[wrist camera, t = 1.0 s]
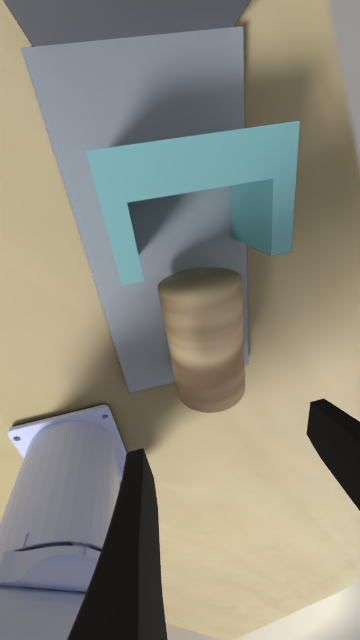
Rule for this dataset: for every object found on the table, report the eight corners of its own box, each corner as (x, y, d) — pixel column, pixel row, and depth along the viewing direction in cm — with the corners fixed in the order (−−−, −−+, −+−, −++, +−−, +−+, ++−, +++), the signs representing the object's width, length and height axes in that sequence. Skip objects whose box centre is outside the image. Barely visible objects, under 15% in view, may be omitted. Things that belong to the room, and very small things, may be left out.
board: (245, 360, 22) (248, 364, 22) (129, 388, 21) (129, 393, 20) (238, 32, 13) (243, 26, 12) (25, 54, 12) (20, 47, 11)
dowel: (229, 358, 21) (257, 401, 17) (171, 373, 20) (185, 421, 16) (223, 262, 17) (257, 286, 13) (152, 276, 17) (164, 306, 12)
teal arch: (246, 235, 16) (291, 252, 12) (122, 258, 16) (121, 285, 11) (245, 141, 14) (299, 120, 10) (98, 163, 13) (85, 150, 9)
